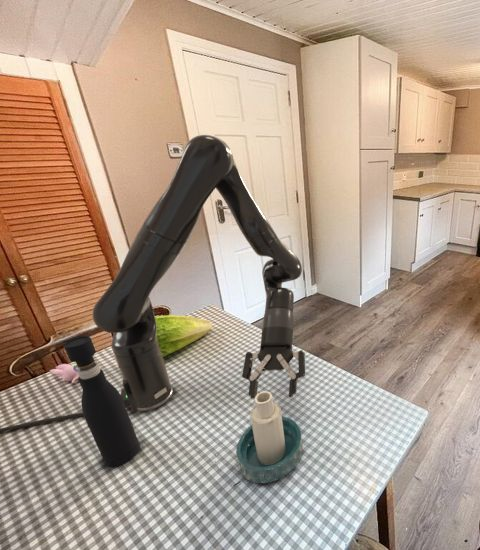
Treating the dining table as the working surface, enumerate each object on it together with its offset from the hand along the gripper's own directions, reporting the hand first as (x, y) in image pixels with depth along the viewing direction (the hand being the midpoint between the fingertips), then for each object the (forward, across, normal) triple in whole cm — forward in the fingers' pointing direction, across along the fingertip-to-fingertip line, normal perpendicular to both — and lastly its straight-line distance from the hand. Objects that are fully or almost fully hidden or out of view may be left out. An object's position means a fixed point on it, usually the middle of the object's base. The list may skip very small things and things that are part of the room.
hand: (272, 397), depth 70 cm
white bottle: (+11, 0, +3) cm, 12 cm away
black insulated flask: (+10, -34, +5) cm, 36 cm away
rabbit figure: (-8, -64, +24) cm, 69 cm away
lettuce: (-20, -41, +36) cm, 58 cm away
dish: (+12, 0, +3) cm, 12 cm away
